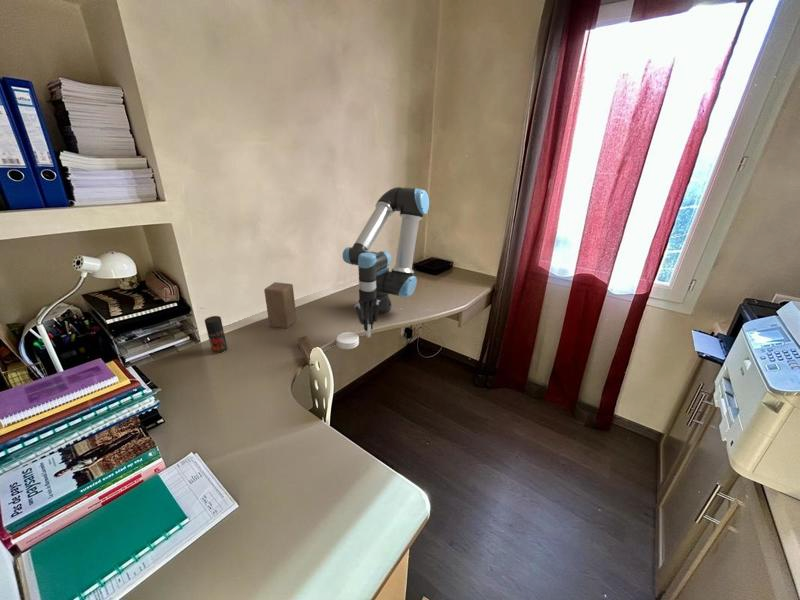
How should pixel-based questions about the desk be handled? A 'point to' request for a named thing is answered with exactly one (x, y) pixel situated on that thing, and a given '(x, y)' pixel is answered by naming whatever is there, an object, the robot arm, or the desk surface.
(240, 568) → the desk surface
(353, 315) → the desk surface
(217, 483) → the desk surface
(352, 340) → the coaster
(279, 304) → the wooden block
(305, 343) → the brown wooden bar
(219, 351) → the deodorant
